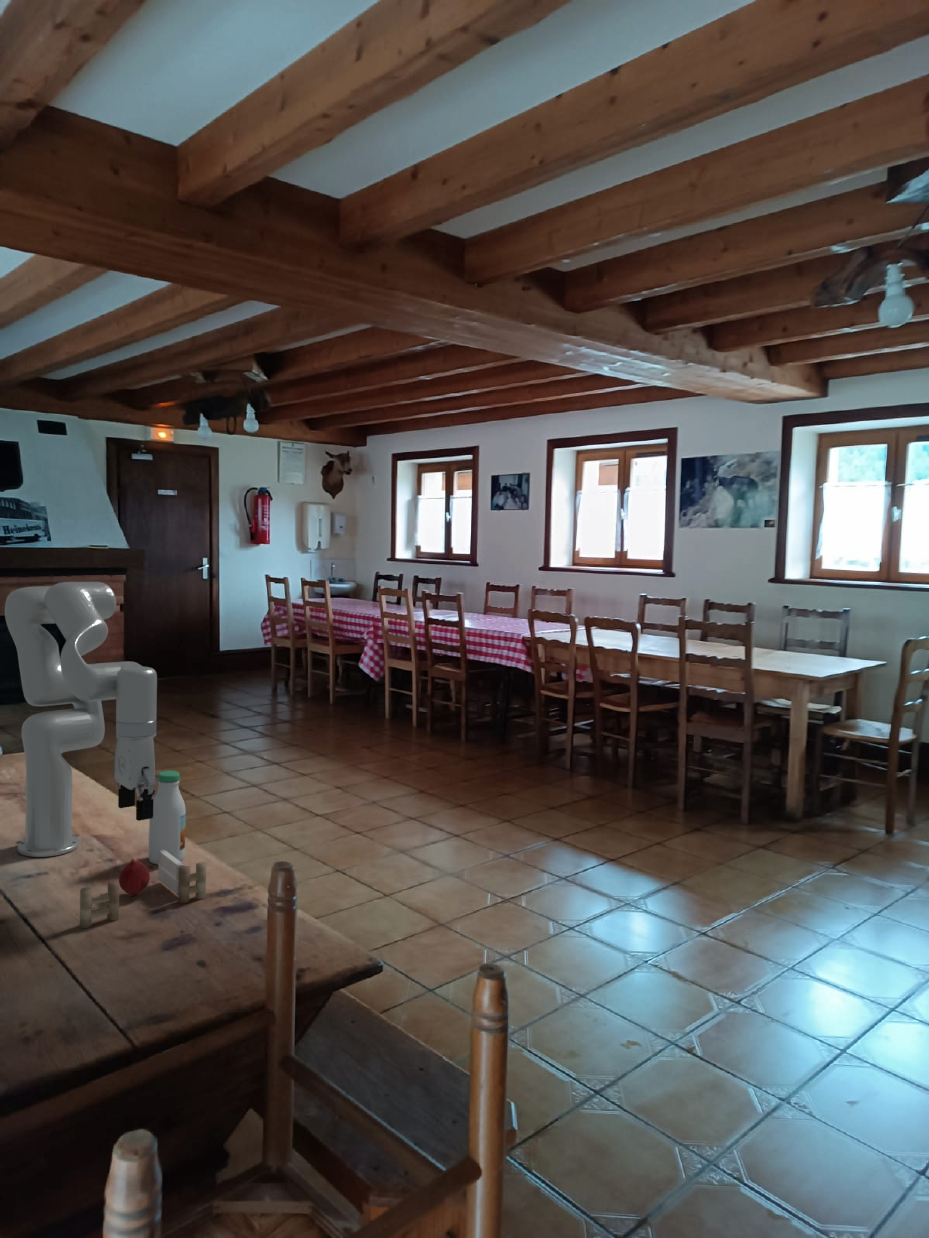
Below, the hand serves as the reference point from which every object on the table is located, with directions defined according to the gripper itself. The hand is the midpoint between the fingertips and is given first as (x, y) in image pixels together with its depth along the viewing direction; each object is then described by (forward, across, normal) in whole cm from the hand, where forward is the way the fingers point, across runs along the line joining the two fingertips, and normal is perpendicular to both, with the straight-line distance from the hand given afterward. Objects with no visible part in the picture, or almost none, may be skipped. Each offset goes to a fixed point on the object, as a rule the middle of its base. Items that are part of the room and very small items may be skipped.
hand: (135, 812), depth 171 cm
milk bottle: (+17, -16, +13) cm, 27 cm away
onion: (+18, 0, 0) cm, 18 cm away
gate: (+17, +1, +7) cm, 18 cm away
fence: (+18, +8, -1) cm, 19 cm away
